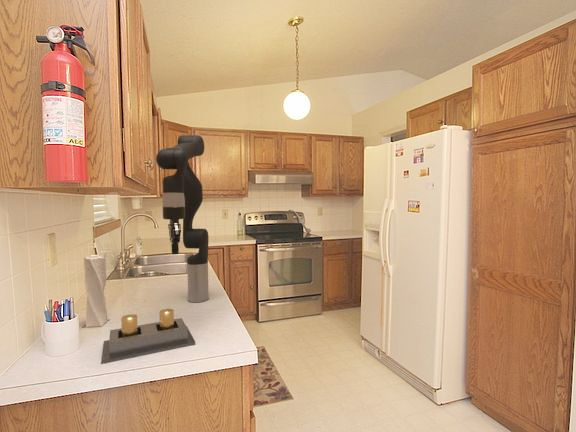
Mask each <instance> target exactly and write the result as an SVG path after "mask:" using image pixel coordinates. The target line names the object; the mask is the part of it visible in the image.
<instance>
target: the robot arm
mask: <svg viewBox="0 0 576 432" xmlns="http://www.w3.org/2000/svg"><path fill="white" fill-rule="evenodd" d="M204 153H205V141H204V139H203V137H202V136H200V135H197V134H196V135H195V134H194V135H191V134H190V135H186V134H184V135H179V136H178V138H177V144H176V145H174V146H173V147H166V148H162V149H160V150H159V151H158V152H157V154H156V156H155V161H156V165H157V166H158V167H159V168H161V169H162V170H176V171H175V173H173V174H171V175H168V176H164V177H163V179H162V201H161V202H162V219H163V220H169V224H167V230H168V236H169V241H170V243H171V244H170V245H171V246H170V247H171V254H172V255H178V254H179V249H180V248H179V247H180V246H179V244H180V243H181V232H182V243H183V246H184V247H185V249H192V250H193V249H195V250H196V249H198V252H197V253H196V254H193V255H190V256H188V257H187V259H186V266H187V269H186V270H187V299H188V302H189V303H203V302H205V301H206V302H207V301H209V298H210V297H209V294H210V293H209V292H210V291H209V263H208V261H209V260H208V259H209V231H208V229H206V228H193V222H194V218H195V216H196V214H197V212H198V210H199V209H200V207H201V205H202V203H203V199H204V195H203V185H202V183H201V181H200V180H199V177H197V175H196V174H195V173H194V171H193V169H192V168H191V166H190V163H189V160H191V159H193V158H195V157H201V156H202V155H203V154H204ZM180 220H182V225H181V223H180Z"/></svg>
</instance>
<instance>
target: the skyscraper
mask: <svg viewBox="0 0 576 432" xmlns="http://www.w3.org/2000/svg"><path fill="white" fill-rule="evenodd" d="M101 253H104V256H101ZM106 254H107V252H106V251H105V250H101V251H100V252H99V253H98V254H92V255H90V256H87V255H86V256H85V255H84V257H83V265H82V266H83V283H84V288H85V292H86V296H87V297H86V311H85V324H83V325H82V327H81V329H85V328H87V329H88V328H102V327H103V326H104V325H106V324H107V323H108V322H109V321H110V319H108V310H107V301H106V296H105V289H106V283H107V259H106V256H107V255H106Z"/></svg>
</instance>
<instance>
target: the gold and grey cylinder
mask: <svg viewBox="0 0 576 432" xmlns="http://www.w3.org/2000/svg"><path fill="white" fill-rule="evenodd" d="M174 312H175V310H174V309H172V308H165V309H161V310H159V322H160V331H162V330H168V329H173V328H174V319H175V316H174V315H175V313H174Z"/></svg>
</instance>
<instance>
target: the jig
mask: <svg viewBox="0 0 576 432" xmlns="http://www.w3.org/2000/svg"><path fill="white" fill-rule="evenodd" d="M193 345H196V341H195V339H194V337H193V335H192V333H191V331H190V329H189V328H188V326H187V325H186V323H185V321H184V319H183V318H182V317H181V318H174V328H173V329H168V330H162V331H160V321H157V322H150V323H145V324H139V325H138V315H137V314H134V313H131V314H126V315H122V317H121V327H120V328H115V329H110V331H109V339H108V340H103V345H102V354H101V365H104V364H107V363H112V362H117V361H118V362H119V361H121V360H127V359H132V358H136V357H141V356H145V355H147V356H148V355H150V354H155V353H160V352H161V353H162V352H165V351H169V350H175V349H179V348H180V349H181V348H184V347H188V346H193ZM103 363H104V364H103Z"/></svg>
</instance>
